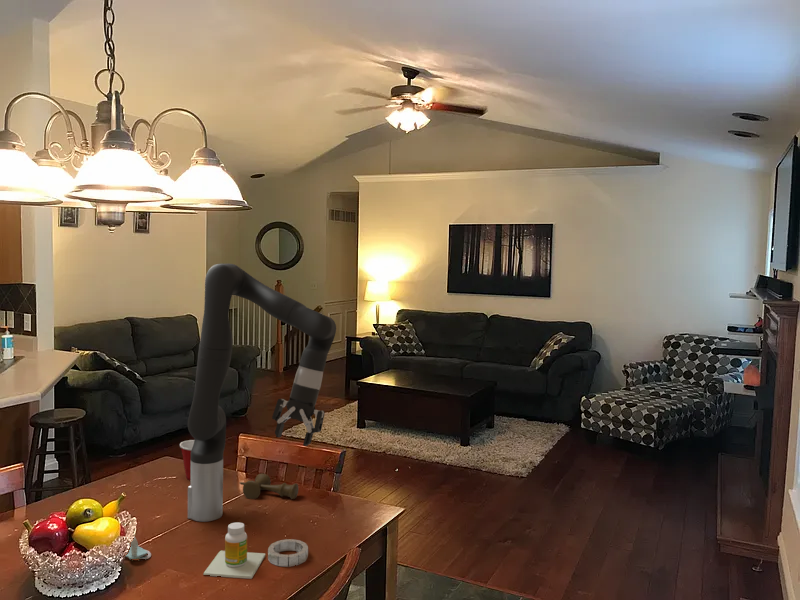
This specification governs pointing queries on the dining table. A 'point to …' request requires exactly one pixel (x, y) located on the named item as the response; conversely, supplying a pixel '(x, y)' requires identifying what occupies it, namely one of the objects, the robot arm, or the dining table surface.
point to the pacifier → (137, 551)
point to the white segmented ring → (287, 559)
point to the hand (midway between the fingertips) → (291, 441)
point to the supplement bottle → (236, 545)
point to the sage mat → (243, 571)
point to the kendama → (268, 487)
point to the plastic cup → (187, 456)
